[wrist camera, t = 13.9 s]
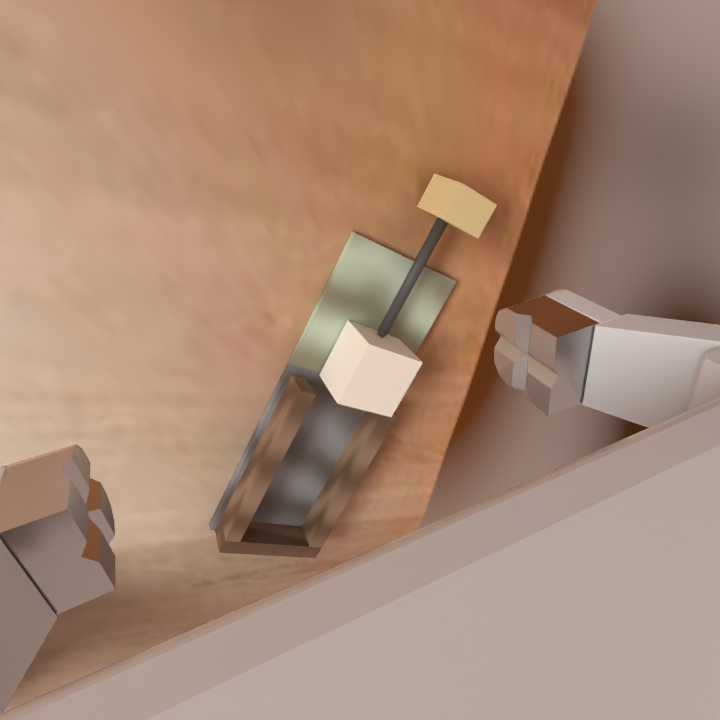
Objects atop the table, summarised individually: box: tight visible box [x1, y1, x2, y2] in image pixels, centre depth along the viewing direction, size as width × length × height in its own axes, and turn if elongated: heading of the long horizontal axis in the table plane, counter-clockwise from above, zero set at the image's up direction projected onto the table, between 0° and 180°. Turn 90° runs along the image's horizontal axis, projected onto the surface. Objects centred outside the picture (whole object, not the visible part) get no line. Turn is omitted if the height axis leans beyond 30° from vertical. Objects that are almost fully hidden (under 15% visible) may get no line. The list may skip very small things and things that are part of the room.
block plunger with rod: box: [319, 174, 497, 417], centre depth 45 cm, size 20×6×5 cm, turn 151°
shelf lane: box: [209, 231, 456, 558], centre depth 50 cm, size 33×12×4 cm, turn 151°
